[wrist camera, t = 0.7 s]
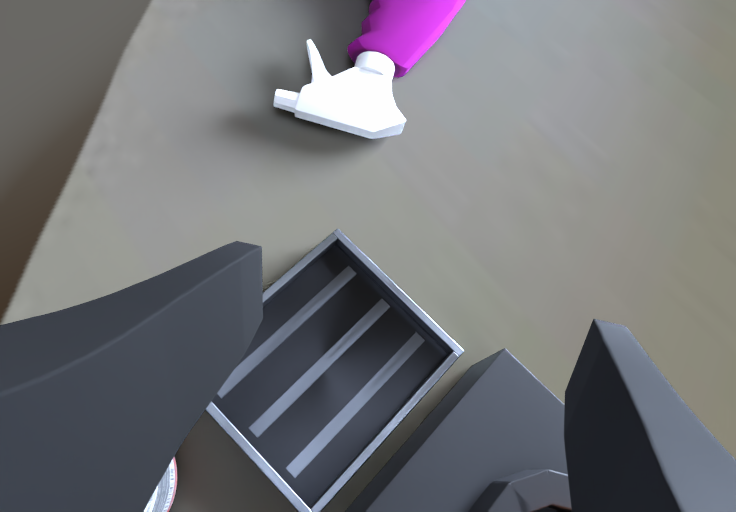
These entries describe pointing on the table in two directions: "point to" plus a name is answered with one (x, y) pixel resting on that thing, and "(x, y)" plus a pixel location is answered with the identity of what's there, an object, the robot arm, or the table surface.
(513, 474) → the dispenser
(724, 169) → the table surface
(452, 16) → the spray bottle
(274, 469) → the drip tray
